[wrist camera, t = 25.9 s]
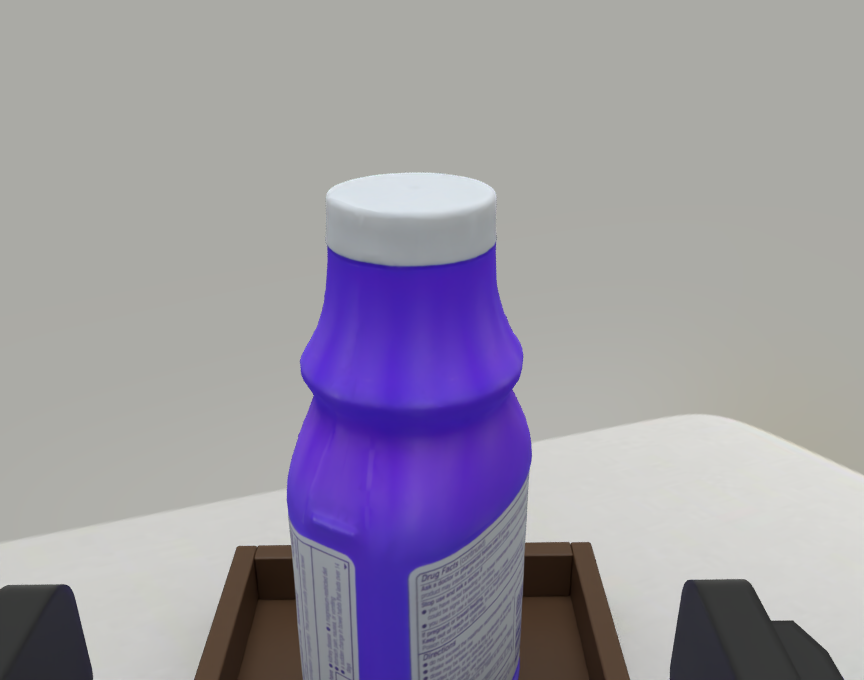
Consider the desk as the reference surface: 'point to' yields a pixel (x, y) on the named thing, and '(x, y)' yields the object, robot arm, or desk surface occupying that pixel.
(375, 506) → the bottle
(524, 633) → the tray
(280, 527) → the desk surface
